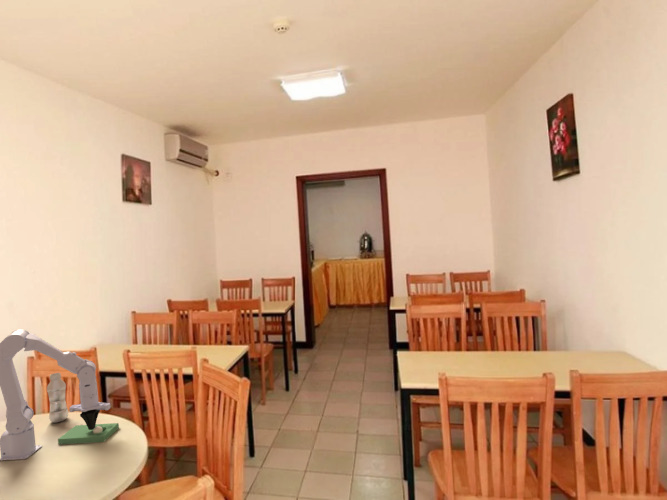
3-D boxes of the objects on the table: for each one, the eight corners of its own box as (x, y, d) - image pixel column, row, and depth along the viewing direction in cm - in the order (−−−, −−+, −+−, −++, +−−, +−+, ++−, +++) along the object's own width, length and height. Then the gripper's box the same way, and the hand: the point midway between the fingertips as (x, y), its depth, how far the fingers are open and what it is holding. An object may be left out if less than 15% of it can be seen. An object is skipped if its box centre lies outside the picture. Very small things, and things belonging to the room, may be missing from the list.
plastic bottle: (55, 418, 165) (51, 372, 164) (72, 416, 166) (68, 370, 165) (46, 425, 159) (41, 378, 158) (63, 423, 159) (59, 376, 158)
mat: (58, 444, 143) (57, 439, 143) (76, 430, 153) (75, 425, 153) (104, 441, 143) (103, 436, 143) (118, 427, 153) (118, 423, 153)
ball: (100, 428, 147) (99, 437, 147) (104, 424, 150) (104, 432, 150) (91, 428, 147) (91, 436, 147) (96, 424, 150) (95, 432, 150)
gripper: (62, 399, 143) (65, 435, 144) (101, 397, 143) (104, 432, 144) (75, 391, 150) (78, 425, 151) (112, 389, 150) (115, 423, 151)
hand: (91, 428), depth 148 cm, fingers closed
